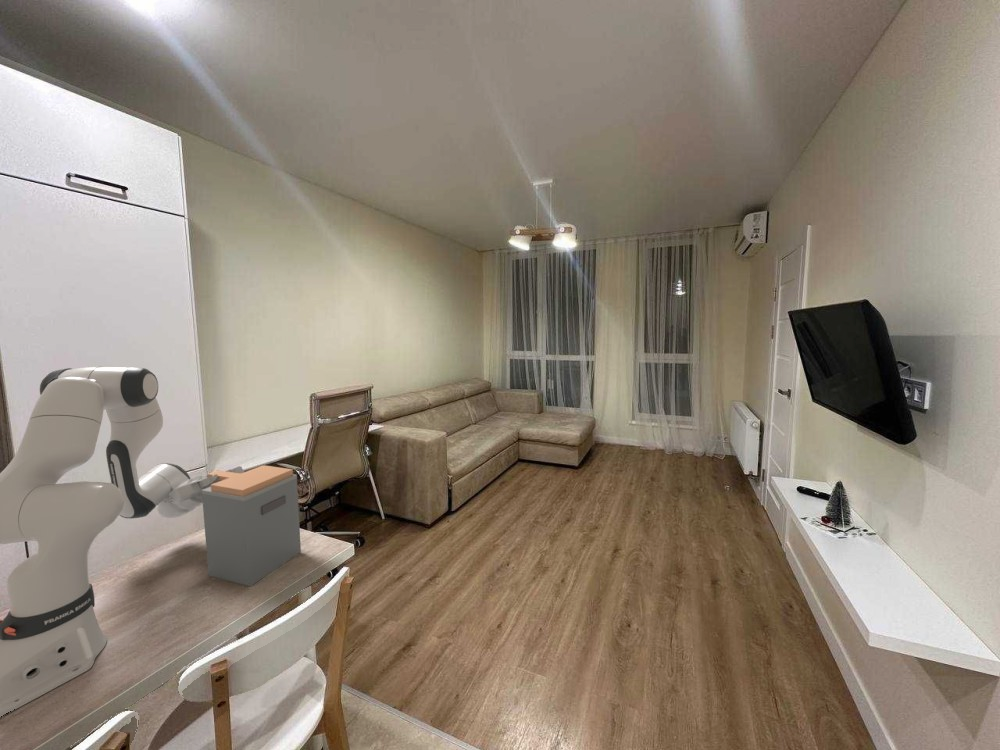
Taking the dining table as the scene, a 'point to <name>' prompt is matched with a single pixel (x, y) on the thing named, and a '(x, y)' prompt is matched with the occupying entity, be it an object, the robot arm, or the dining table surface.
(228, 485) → the lid
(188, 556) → the dining table surface
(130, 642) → the dining table surface
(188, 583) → the dining table surface
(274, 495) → the crate
